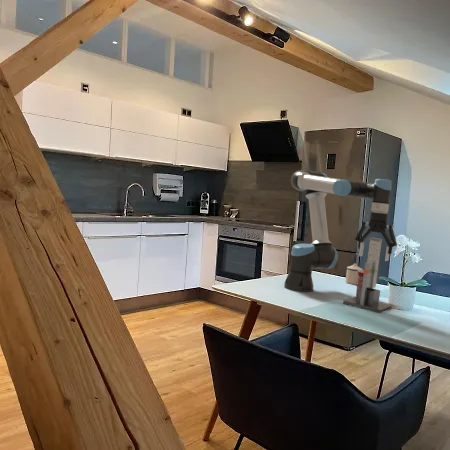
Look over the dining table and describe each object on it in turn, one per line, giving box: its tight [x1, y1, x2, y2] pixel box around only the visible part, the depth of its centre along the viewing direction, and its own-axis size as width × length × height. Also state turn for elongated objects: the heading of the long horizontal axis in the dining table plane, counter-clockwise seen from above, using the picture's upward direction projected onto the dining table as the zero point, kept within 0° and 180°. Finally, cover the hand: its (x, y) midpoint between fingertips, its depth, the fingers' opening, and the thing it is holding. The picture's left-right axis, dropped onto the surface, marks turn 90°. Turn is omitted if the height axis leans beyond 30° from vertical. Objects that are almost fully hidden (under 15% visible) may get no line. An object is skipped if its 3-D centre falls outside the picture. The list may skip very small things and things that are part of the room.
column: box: [366, 237, 383, 289], centre depth 215 cm, size 5×5×23 cm
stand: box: [342, 262, 393, 314], centre depth 215 cm, size 18×15×21 cm
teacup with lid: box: [345, 263, 363, 286], centre depth 273 cm, size 12×9×12 cm
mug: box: [355, 269, 374, 297], centre depth 236 cm, size 13×9×14 cm
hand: (373, 258), depth 214 cm, fingers open, 12 cm apart
